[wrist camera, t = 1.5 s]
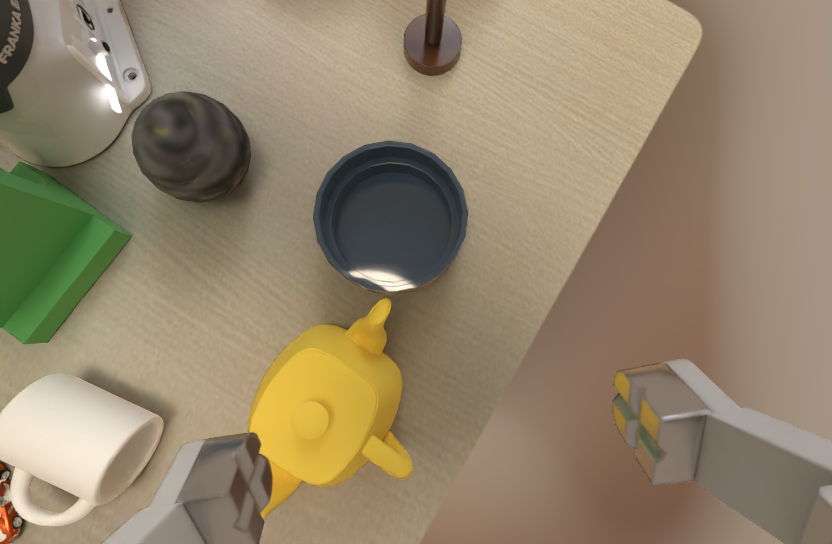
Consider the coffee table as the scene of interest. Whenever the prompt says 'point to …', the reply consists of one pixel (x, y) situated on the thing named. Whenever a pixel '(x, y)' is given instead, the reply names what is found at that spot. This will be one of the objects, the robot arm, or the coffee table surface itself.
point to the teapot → (330, 407)
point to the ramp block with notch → (48, 252)
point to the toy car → (7, 510)
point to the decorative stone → (191, 146)
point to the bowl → (390, 217)
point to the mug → (74, 444)
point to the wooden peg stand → (432, 41)
